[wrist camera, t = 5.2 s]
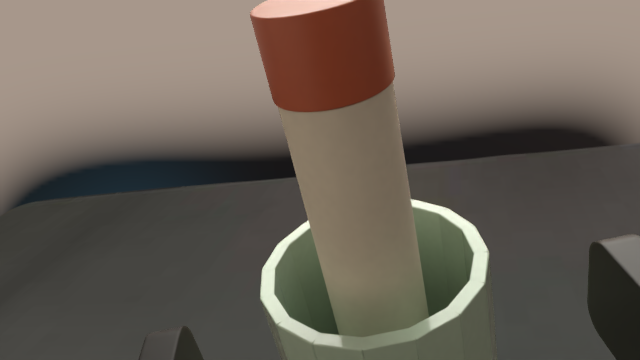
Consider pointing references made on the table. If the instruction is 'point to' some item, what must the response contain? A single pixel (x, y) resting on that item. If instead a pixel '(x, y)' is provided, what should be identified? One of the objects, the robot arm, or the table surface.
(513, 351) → the table surface
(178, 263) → the table surface
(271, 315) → the pen pot
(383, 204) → the marker
